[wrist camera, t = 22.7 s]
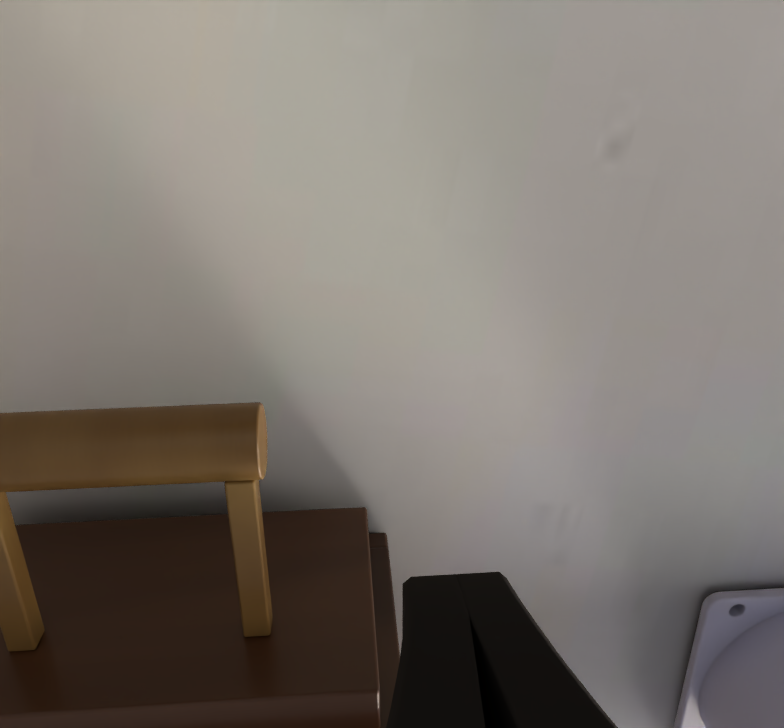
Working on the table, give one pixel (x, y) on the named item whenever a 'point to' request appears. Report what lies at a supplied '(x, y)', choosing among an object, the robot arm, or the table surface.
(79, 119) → the table surface
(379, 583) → the cabinet
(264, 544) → the drawer
